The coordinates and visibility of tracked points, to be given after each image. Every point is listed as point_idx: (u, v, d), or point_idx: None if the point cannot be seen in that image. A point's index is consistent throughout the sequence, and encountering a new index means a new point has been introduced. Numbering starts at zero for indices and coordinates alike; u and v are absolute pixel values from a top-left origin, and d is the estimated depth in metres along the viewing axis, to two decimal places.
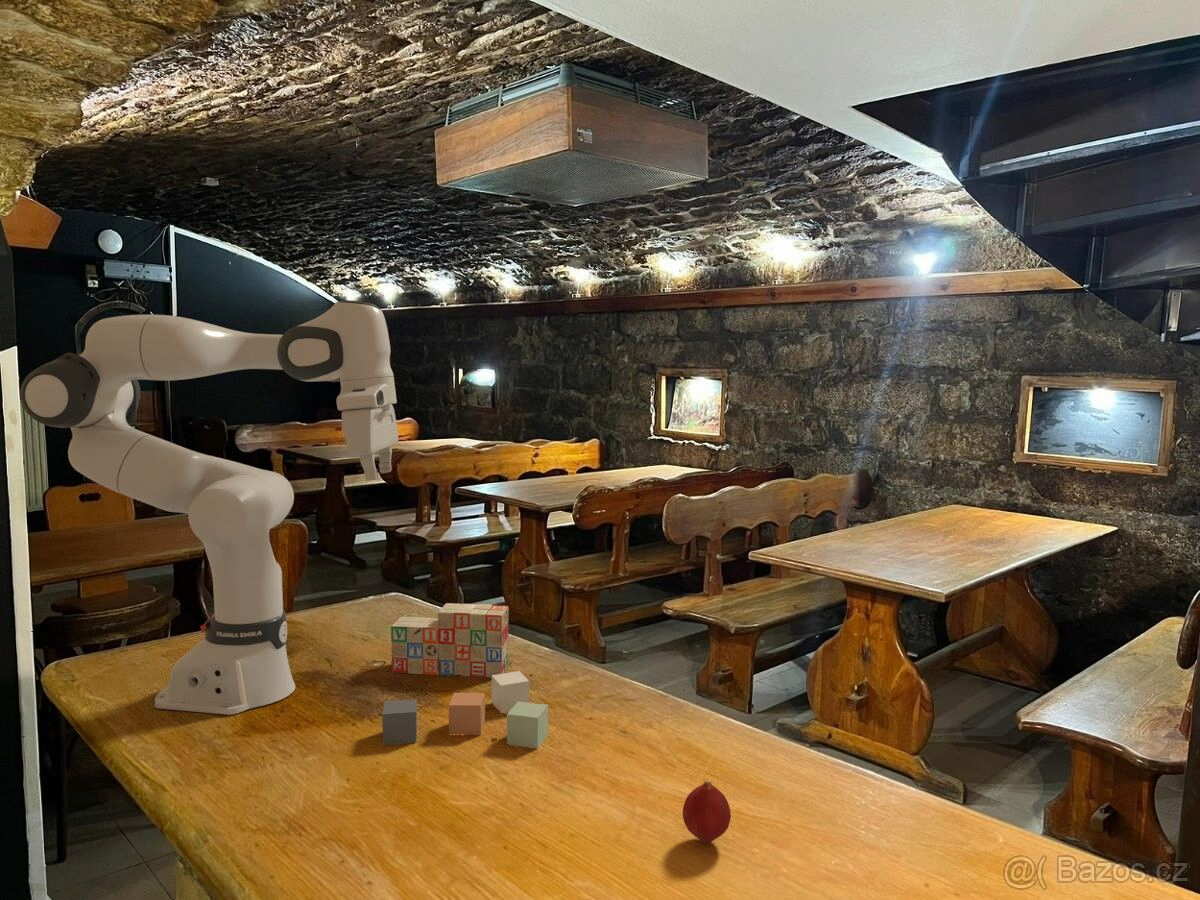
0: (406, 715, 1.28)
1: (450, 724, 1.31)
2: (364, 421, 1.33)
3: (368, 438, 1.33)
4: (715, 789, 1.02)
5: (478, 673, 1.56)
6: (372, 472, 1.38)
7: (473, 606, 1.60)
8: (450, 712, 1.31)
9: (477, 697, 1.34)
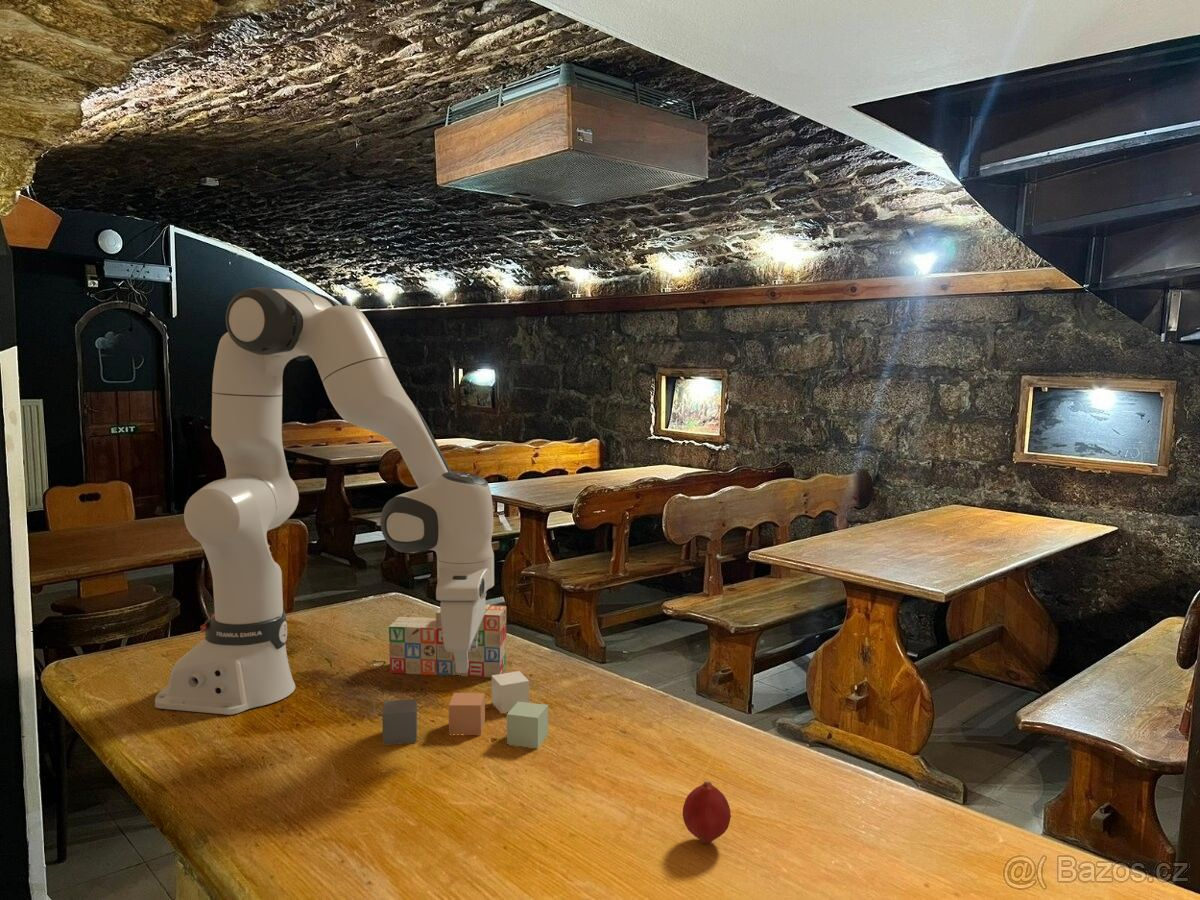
0: (406, 715, 1.28)
1: (450, 724, 1.31)
2: (465, 617, 1.22)
3: (467, 636, 1.22)
4: (715, 789, 1.02)
5: (476, 673, 1.56)
6: (464, 664, 1.27)
7: None
8: (450, 712, 1.31)
9: (477, 697, 1.34)
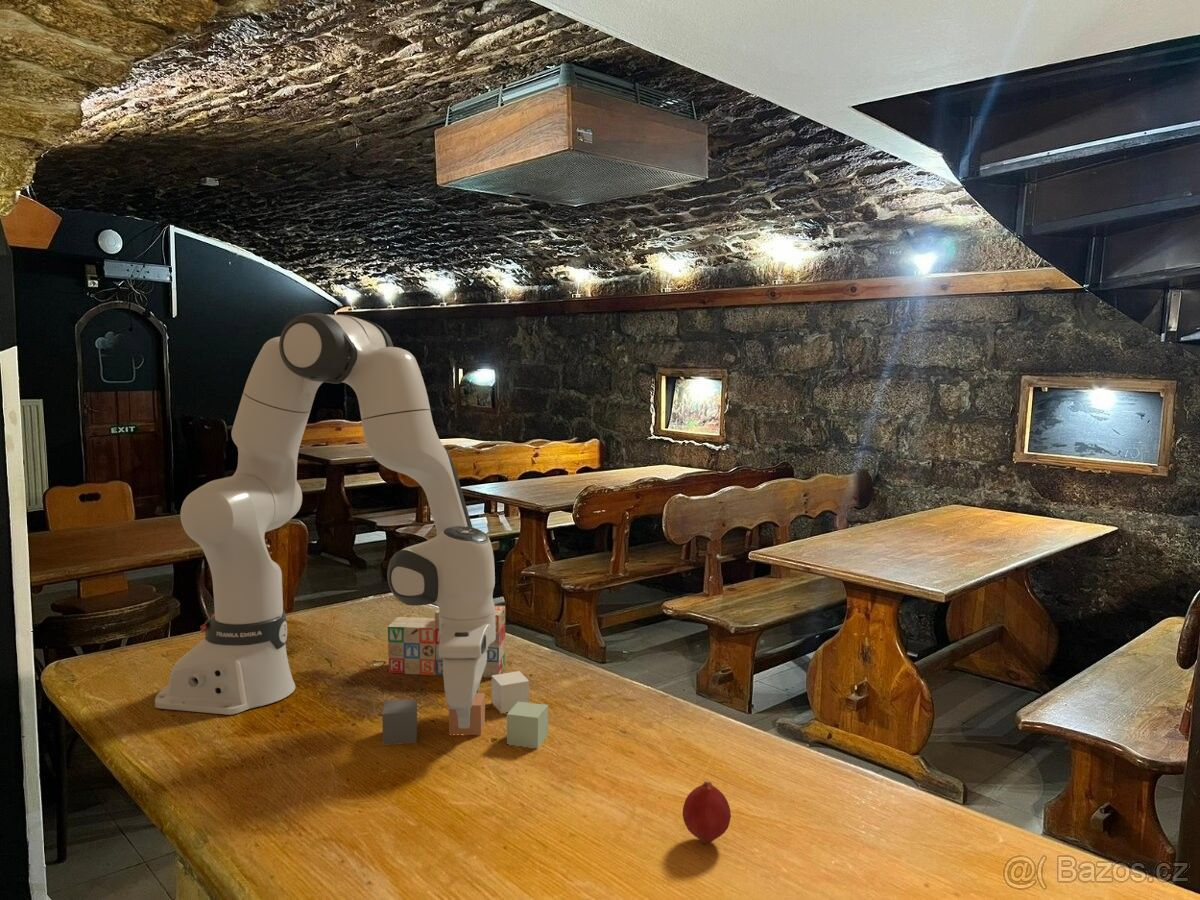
0: (406, 715, 1.28)
1: (450, 724, 1.31)
2: (467, 675, 1.23)
3: (470, 694, 1.23)
4: (715, 789, 1.02)
5: None
6: (466, 720, 1.28)
7: None
8: (450, 712, 1.31)
9: (477, 697, 1.34)
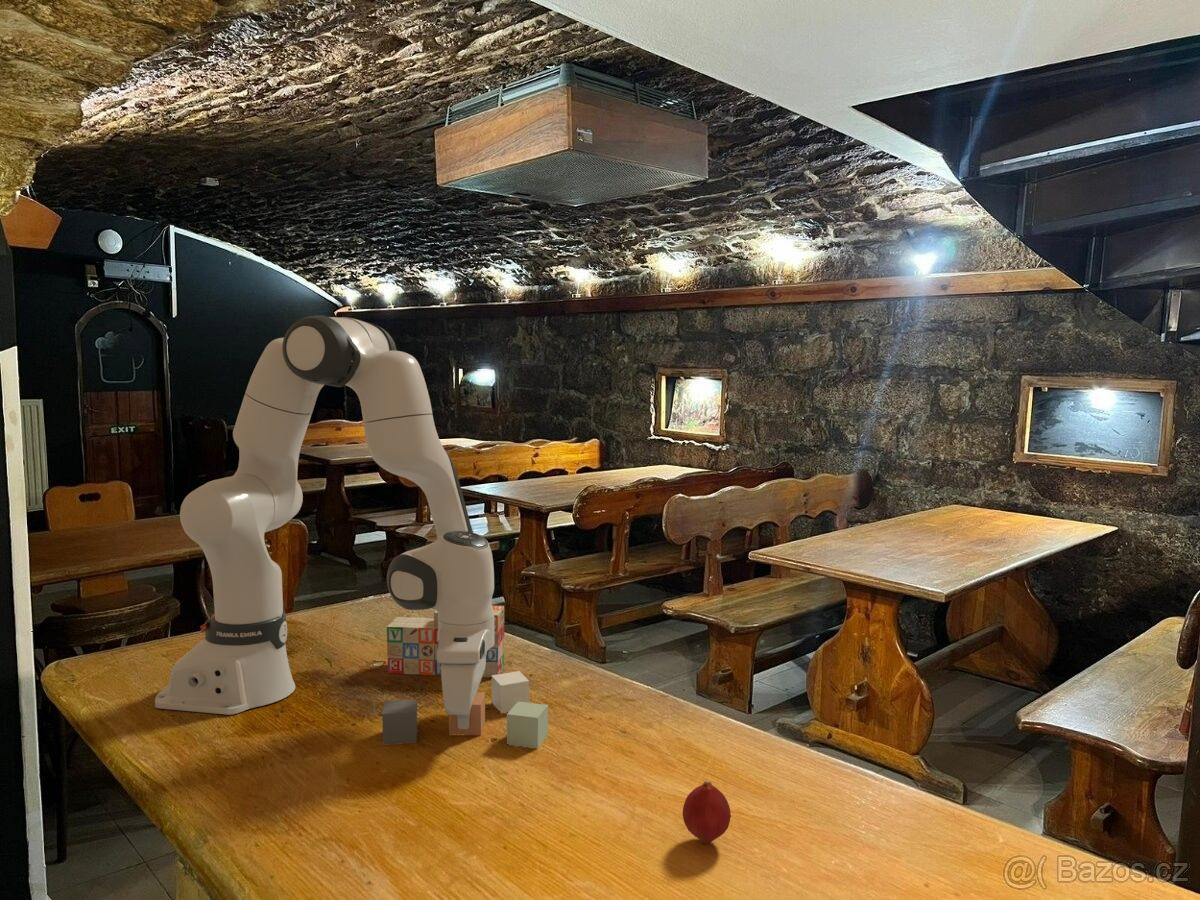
0: (406, 715, 1.28)
1: (450, 723, 1.31)
2: (466, 680, 1.23)
3: (468, 699, 1.23)
4: (715, 789, 1.02)
5: None
6: (466, 721, 1.30)
7: None
8: None
9: (478, 696, 1.34)
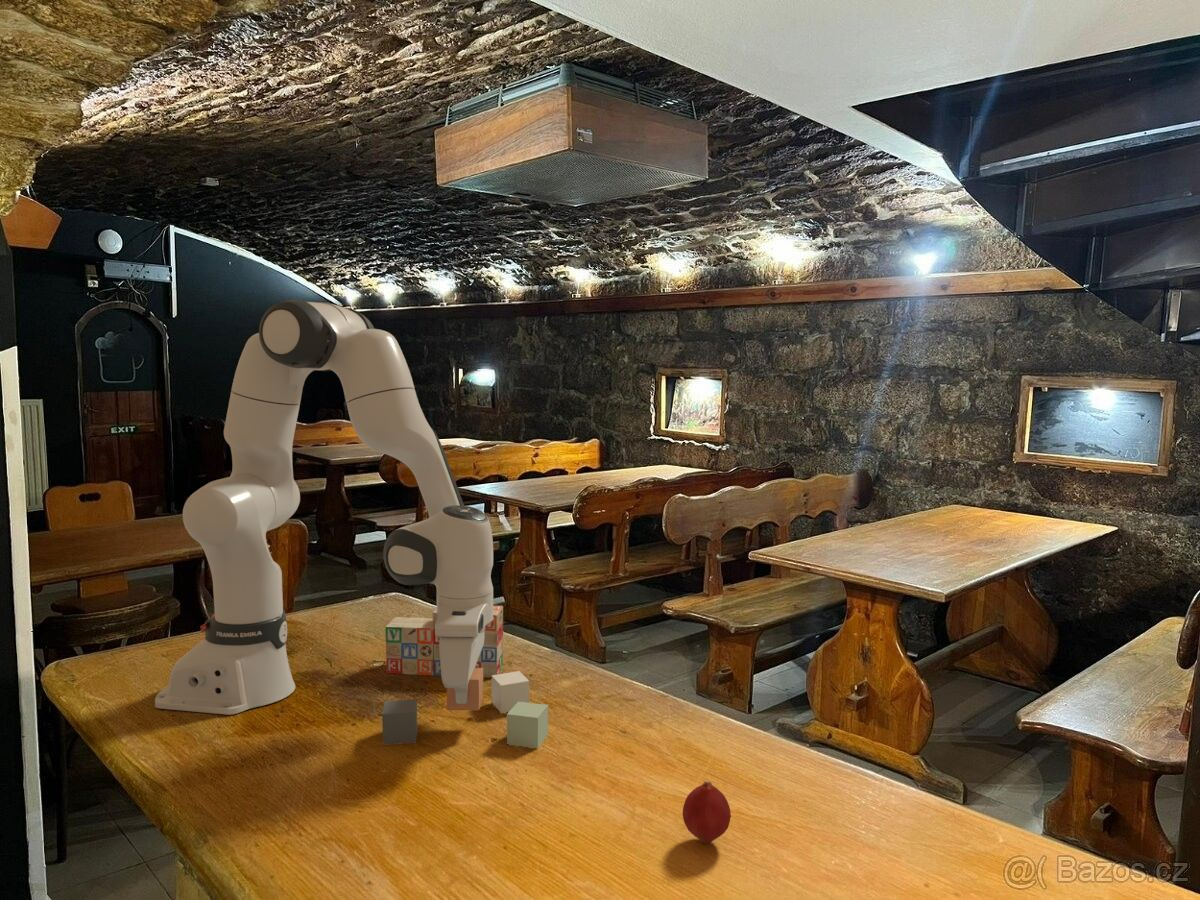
0: (406, 715, 1.28)
1: (448, 698, 1.31)
2: (464, 653, 1.23)
3: (466, 672, 1.23)
4: (715, 789, 1.02)
5: None
6: (463, 695, 1.29)
7: None
8: None
9: (476, 672, 1.34)
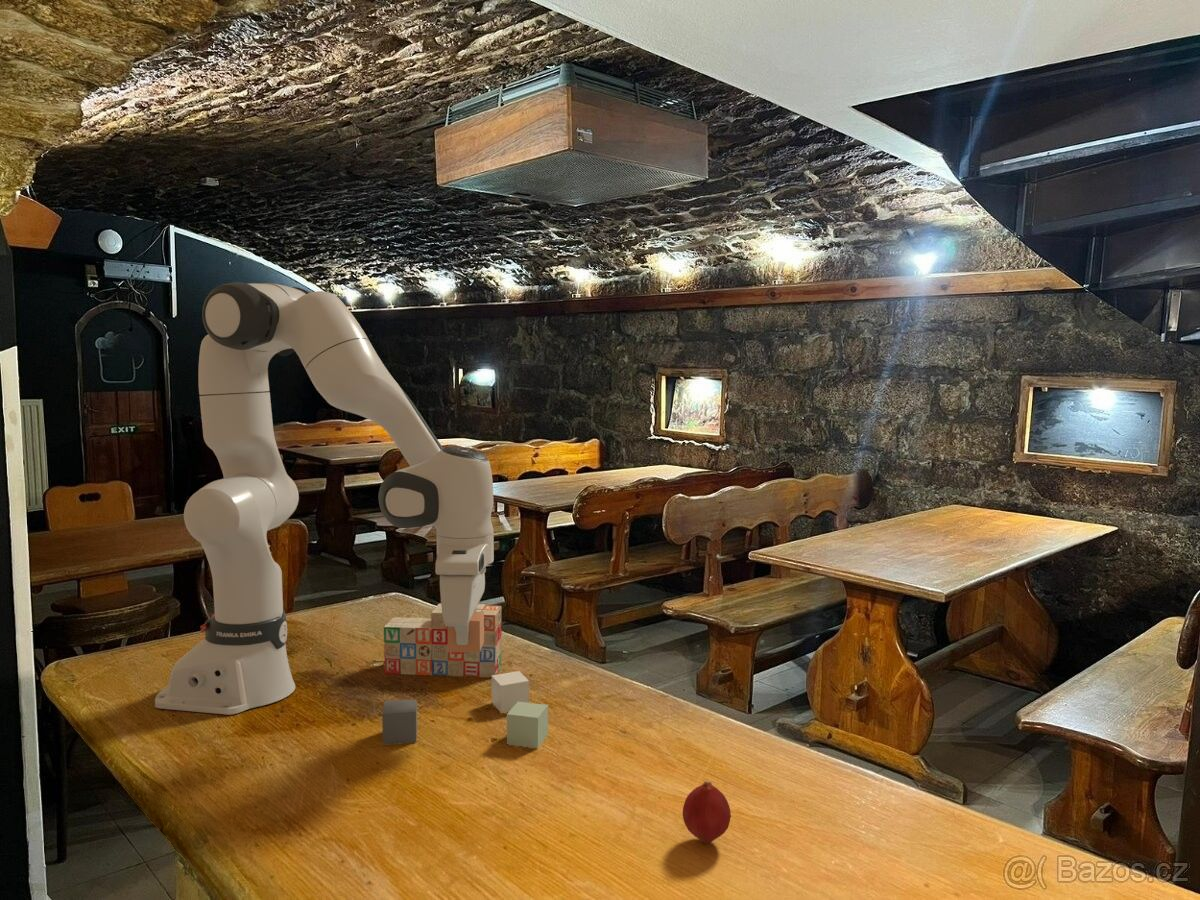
0: (406, 715, 1.28)
1: (449, 640, 1.30)
2: (465, 591, 1.22)
3: (467, 610, 1.22)
4: (715, 789, 1.02)
5: (471, 673, 1.56)
6: (464, 636, 1.28)
7: None
8: (449, 628, 1.30)
9: (477, 615, 1.33)
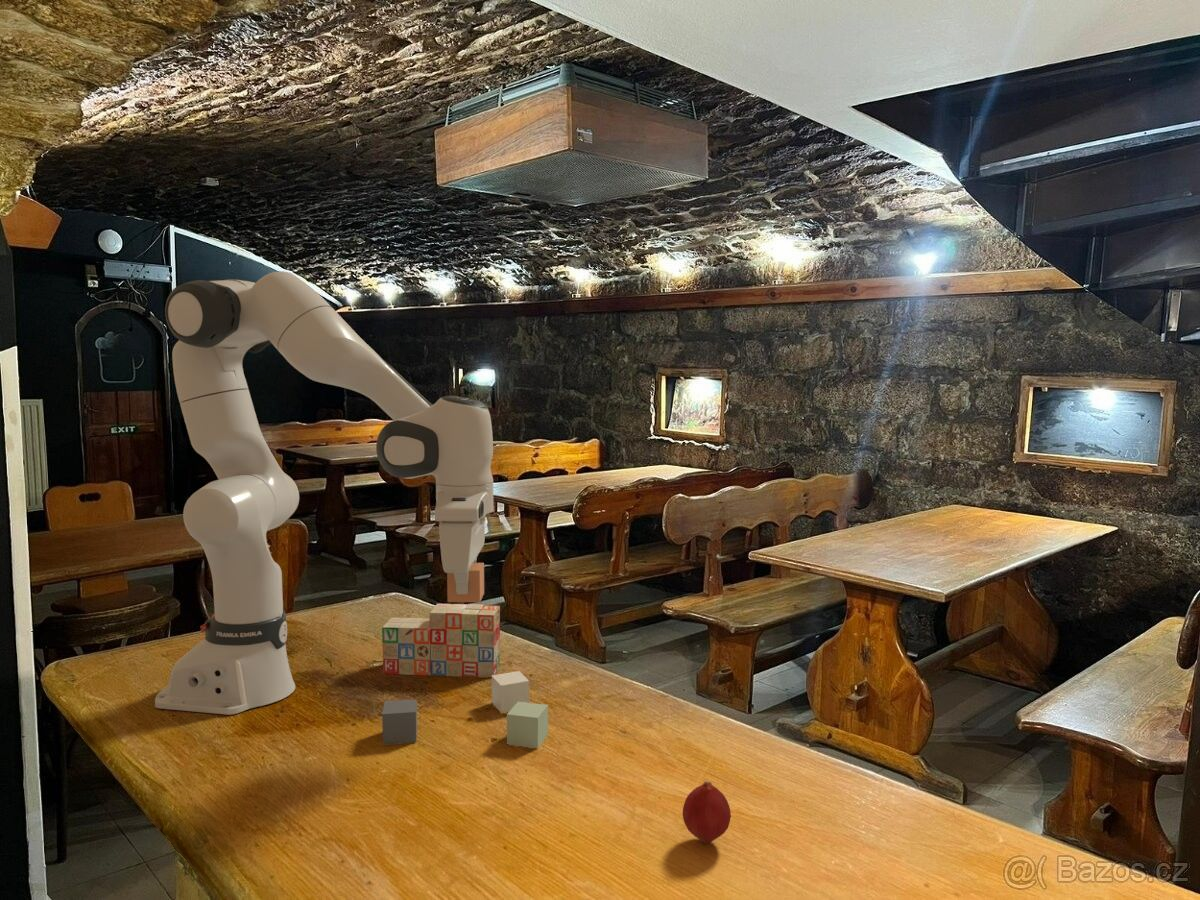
0: (406, 715, 1.28)
1: (449, 590, 1.29)
2: (464, 537, 1.21)
3: (466, 556, 1.21)
4: (715, 789, 1.02)
5: (470, 673, 1.56)
6: (464, 586, 1.28)
7: (464, 606, 1.60)
8: (449, 577, 1.29)
9: (476, 565, 1.32)
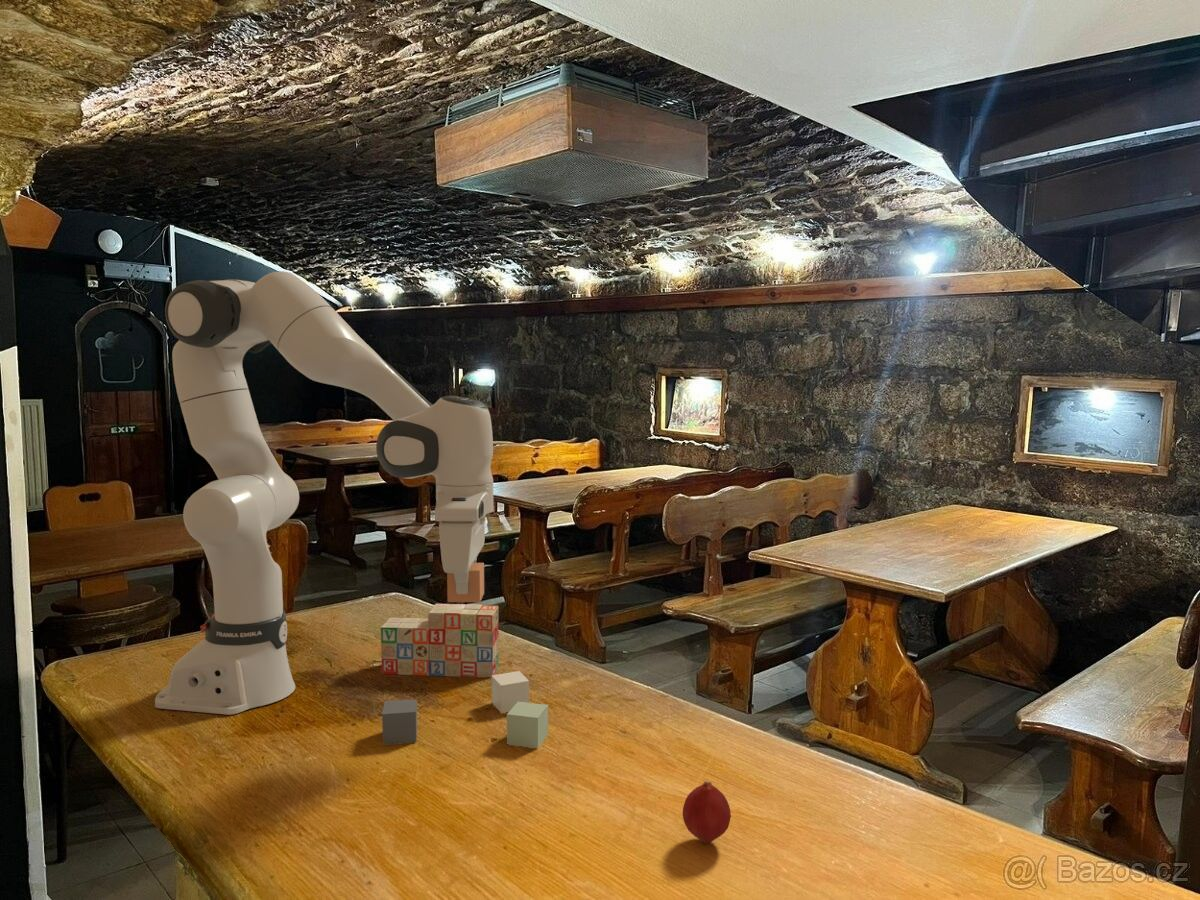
0: (406, 715, 1.28)
1: (449, 590, 1.29)
2: (464, 537, 1.21)
3: (466, 556, 1.21)
4: (715, 789, 1.02)
5: (469, 673, 1.56)
6: (464, 586, 1.28)
7: (463, 606, 1.60)
8: (449, 577, 1.29)
9: (476, 565, 1.32)
